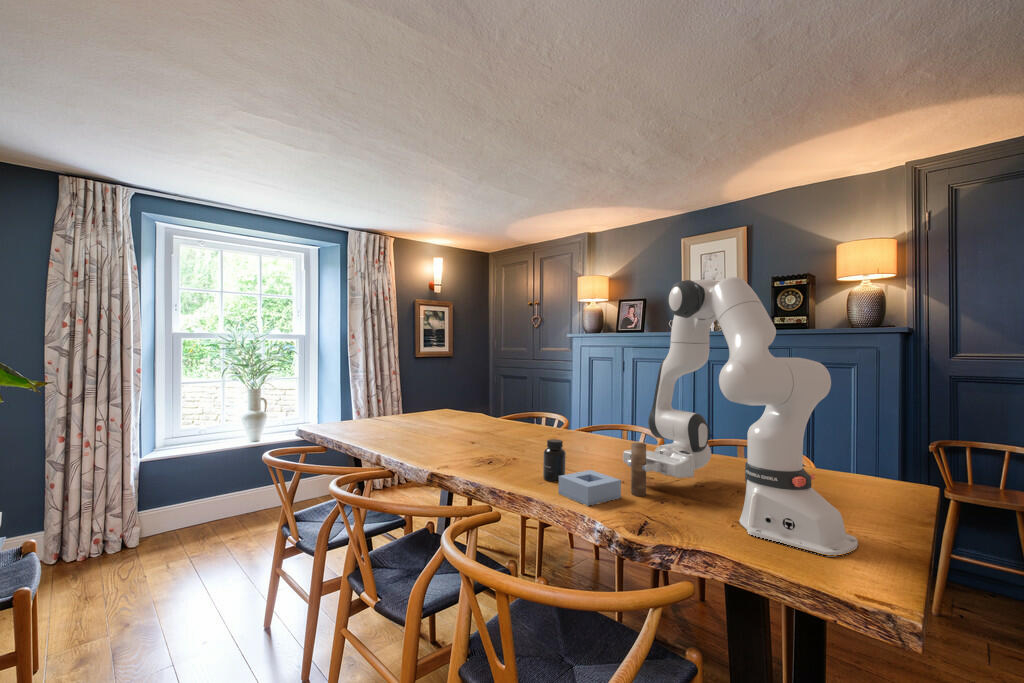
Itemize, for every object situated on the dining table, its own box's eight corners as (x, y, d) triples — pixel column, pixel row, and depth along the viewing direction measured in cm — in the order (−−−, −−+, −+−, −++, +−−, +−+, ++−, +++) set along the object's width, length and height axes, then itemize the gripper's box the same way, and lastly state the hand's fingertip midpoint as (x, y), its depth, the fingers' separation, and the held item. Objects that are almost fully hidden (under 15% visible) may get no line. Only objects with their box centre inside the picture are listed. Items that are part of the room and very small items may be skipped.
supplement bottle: (541, 481, 140) (541, 442, 141) (545, 475, 147) (545, 437, 147) (563, 483, 139) (564, 443, 139) (566, 477, 145) (566, 439, 146)
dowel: (649, 494, 128) (649, 444, 128) (639, 497, 126) (639, 446, 126) (637, 491, 132) (638, 442, 132) (628, 493, 129) (628, 443, 130)
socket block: (620, 498, 125) (620, 480, 125) (587, 506, 118) (588, 487, 118) (590, 487, 135) (590, 469, 135) (558, 493, 128) (558, 475, 129)
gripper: (641, 442, 145) (609, 447, 137) (698, 455, 128) (666, 462, 120) (641, 462, 145) (609, 468, 137) (698, 478, 127) (666, 486, 120)
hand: (636, 465), depth 128 cm, fingers closed on dowel, 4 cm apart
